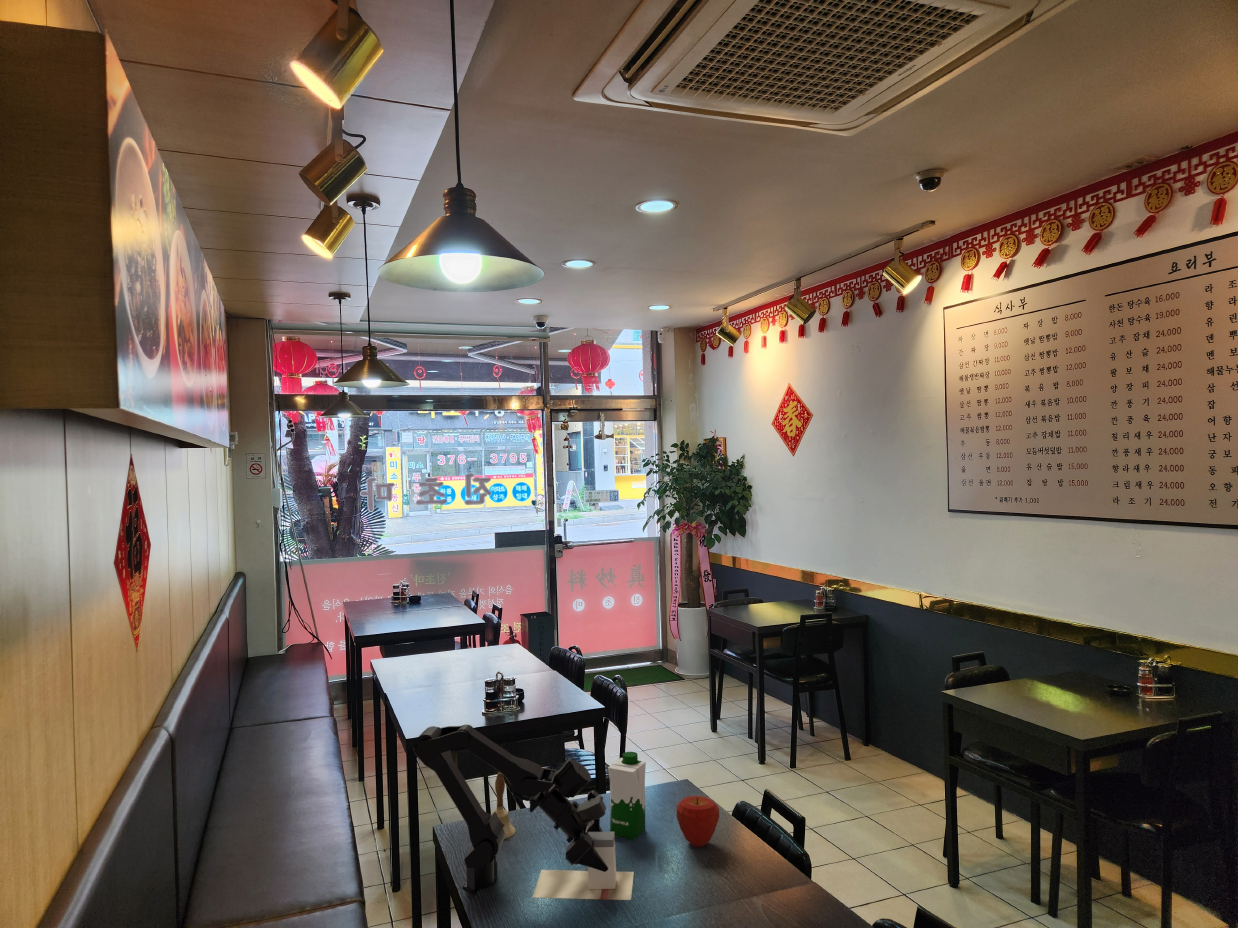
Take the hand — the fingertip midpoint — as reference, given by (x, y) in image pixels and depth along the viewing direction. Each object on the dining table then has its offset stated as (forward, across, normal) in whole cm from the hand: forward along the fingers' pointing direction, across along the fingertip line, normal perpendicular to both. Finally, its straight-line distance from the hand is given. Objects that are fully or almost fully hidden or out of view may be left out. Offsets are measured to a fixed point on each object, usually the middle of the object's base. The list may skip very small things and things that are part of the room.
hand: (608, 859), depth 177 cm
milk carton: (+7, +28, +3) cm, 29 cm away
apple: (+20, +23, -10) cm, 32 cm away
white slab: (+3, 0, +5) cm, 6 cm away
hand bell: (-17, +27, +27) cm, 42 cm away
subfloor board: (+1, 0, +9) cm, 9 cm away
